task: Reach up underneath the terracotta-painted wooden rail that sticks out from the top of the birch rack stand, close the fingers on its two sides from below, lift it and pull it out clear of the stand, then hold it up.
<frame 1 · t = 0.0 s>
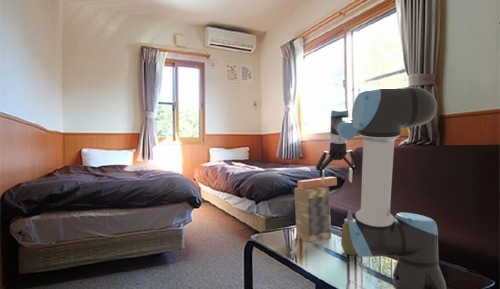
hand: (336, 181, 144), 28 cm above the table, tool tilted 20°, fingers open, 13 cm apart
rail: (317, 186, 148), point 25 cm above the table, touching rack stand
squeeze bottle: (351, 253, 125), on the table
rack stand: (313, 237, 147), on the table
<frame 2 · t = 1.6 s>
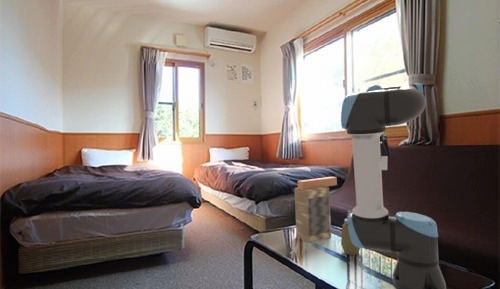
hand: (375, 168, 133), 35 cm above the table, tool pointing down, fingers open, 13 cm apart
nothing on the table moved.
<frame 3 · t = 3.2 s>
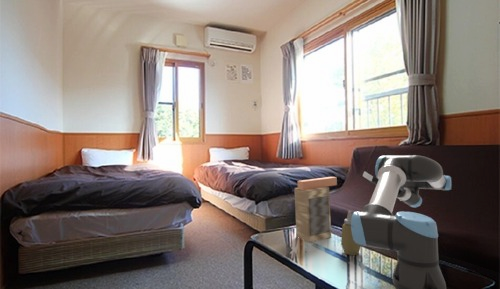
hand: (374, 174, 146), 30 cm above the table, tool pointing upward, fingers open, 13 cm apart
nothing on the table moved.
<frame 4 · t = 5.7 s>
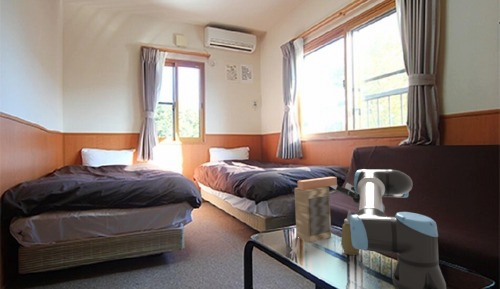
hand: (336, 183, 155), 25 cm above the table, tool pointing upward, fingers open, 13 cm apart
nothing on the table moved.
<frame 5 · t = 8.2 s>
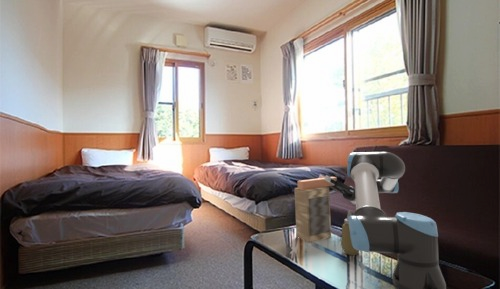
hand: (322, 177, 150), 30 cm above the table, tool pointing upward, fingers closed on rail, 4 cm apart
rail: (317, 186, 148), point 25 cm above the table, touching gripper, rack stand
everything else where it was.
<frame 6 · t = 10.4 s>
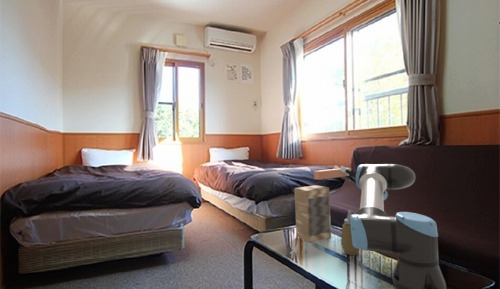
hand: (337, 167, 154), 34 cm above the table, tool pointing upward, fingers closed on rail, 4 cm apart
rail: (333, 177, 152), point 29 cm above the table, touching gripper
everything else where it was.
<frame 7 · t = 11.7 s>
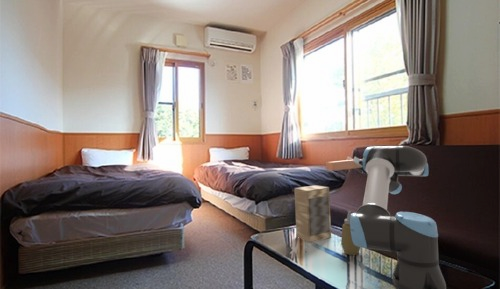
hand: (350, 158, 148), 39 cm above the table, tool pointing upward, fingers closed on rail, 4 cm apart
rail: (346, 168, 146), point 34 cm above the table, touching gripper
everything else where it was.
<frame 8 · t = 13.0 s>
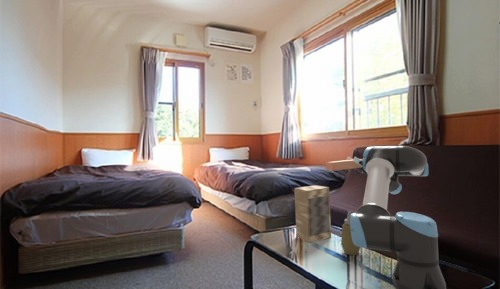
hand: (350, 158, 148), 39 cm above the table, tool pointing upward, fingers closed on rail, 4 cm apart
rail: (346, 168, 146), point 34 cm above the table, touching gripper
everything else where it was.
at the end: the gripper is holding rail; rail point 33.9 cm above the table; rail moved 16.9 cm from its start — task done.
